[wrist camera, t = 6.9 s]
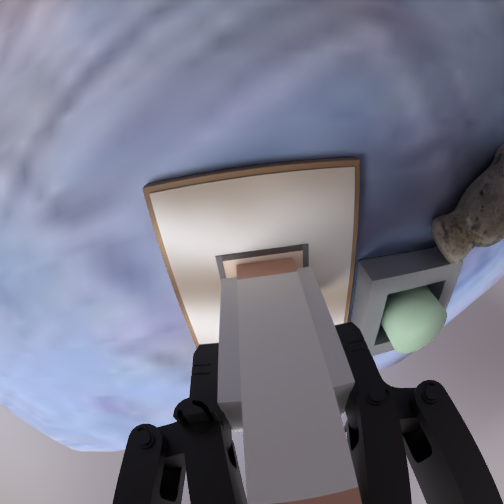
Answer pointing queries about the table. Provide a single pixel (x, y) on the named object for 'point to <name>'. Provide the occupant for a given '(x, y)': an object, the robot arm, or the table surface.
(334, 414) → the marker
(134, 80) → the table surface
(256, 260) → the cream rectangular board
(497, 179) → the stone
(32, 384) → the table surface
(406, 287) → the button housing
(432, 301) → the button
